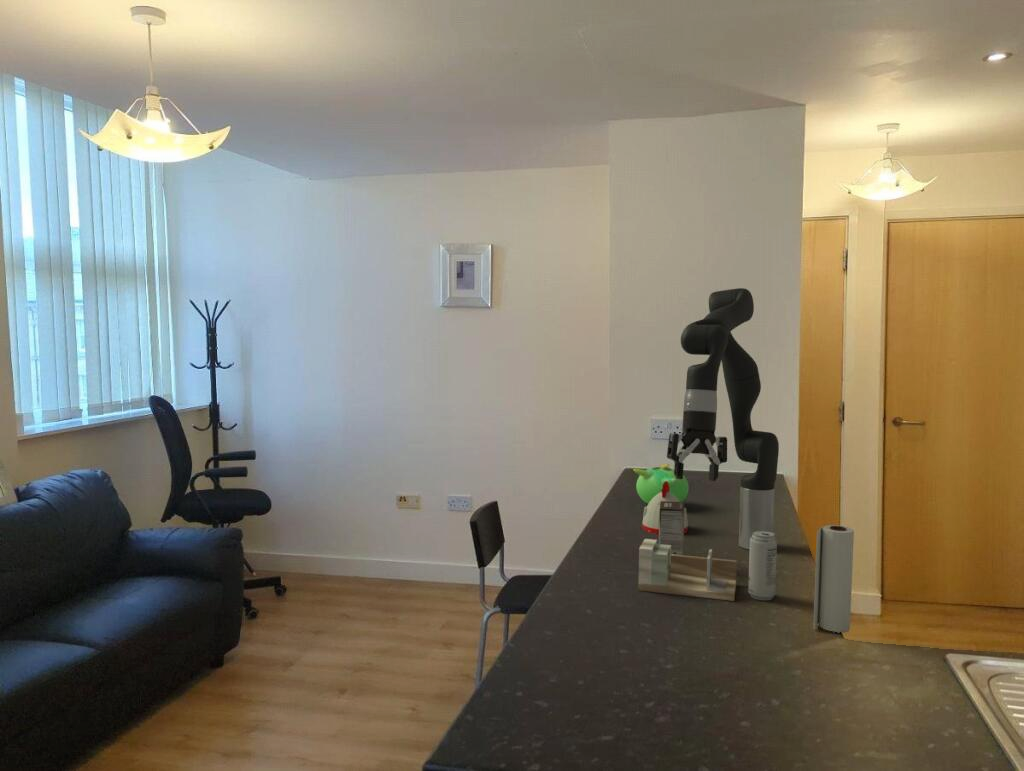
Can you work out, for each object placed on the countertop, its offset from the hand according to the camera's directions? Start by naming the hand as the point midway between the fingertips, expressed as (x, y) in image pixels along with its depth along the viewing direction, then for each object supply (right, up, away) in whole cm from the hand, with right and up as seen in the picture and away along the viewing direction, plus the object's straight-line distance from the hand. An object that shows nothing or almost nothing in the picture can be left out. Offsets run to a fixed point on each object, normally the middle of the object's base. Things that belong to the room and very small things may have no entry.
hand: (695, 479), depth 181 cm
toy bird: (+9, -21, +91) cm, 94 cm away
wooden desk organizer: (0, -27, +7) cm, 28 cm away
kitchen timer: (+5, -23, +61) cm, 66 cm away
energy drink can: (+16, -28, +1) cm, 32 cm away
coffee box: (-1, -26, +25) cm, 36 cm away
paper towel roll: (+24, -29, -17) cm, 42 cm away
